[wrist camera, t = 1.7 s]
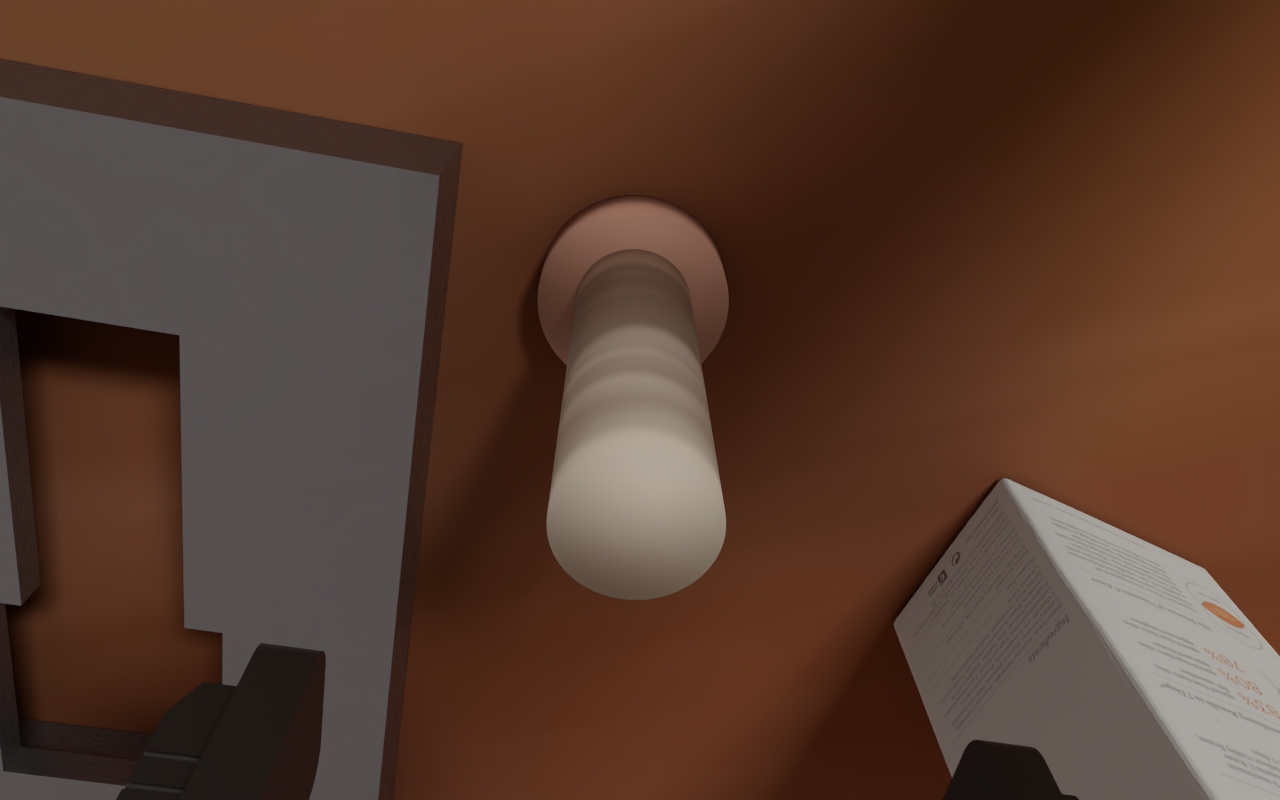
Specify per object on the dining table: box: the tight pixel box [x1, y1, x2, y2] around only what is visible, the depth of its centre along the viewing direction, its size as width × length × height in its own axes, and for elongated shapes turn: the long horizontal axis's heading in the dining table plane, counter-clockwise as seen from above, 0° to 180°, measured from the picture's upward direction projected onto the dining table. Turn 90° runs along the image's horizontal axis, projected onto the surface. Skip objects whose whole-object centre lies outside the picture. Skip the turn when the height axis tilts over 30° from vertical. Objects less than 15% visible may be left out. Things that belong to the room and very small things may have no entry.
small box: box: [894, 478, 1280, 800], centre depth 26 cm, size 8×6×13 cm
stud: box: [537, 195, 729, 600], centre depth 22 cm, size 5×5×12 cm
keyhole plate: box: [0, 59, 463, 800], centre depth 29 cm, size 24×16×4 cm, turn 169°
